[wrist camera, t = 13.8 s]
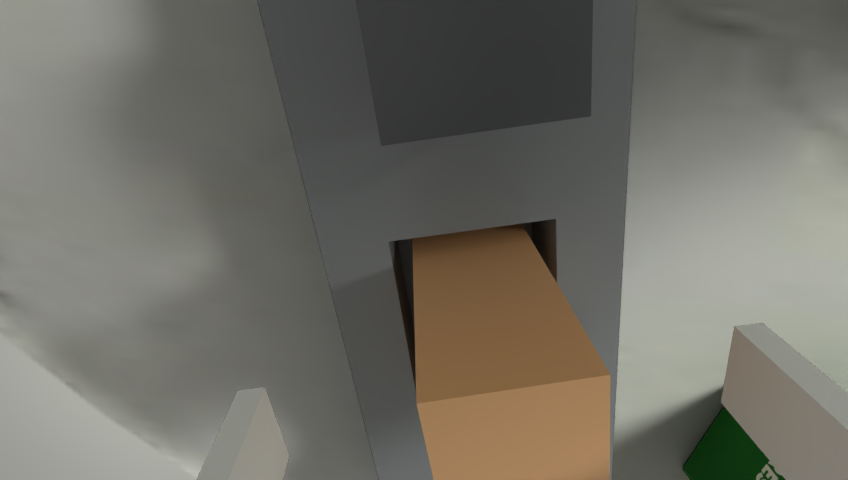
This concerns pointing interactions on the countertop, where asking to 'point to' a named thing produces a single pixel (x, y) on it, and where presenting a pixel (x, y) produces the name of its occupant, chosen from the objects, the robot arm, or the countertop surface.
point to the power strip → (454, 163)
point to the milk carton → (729, 454)
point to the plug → (504, 364)
